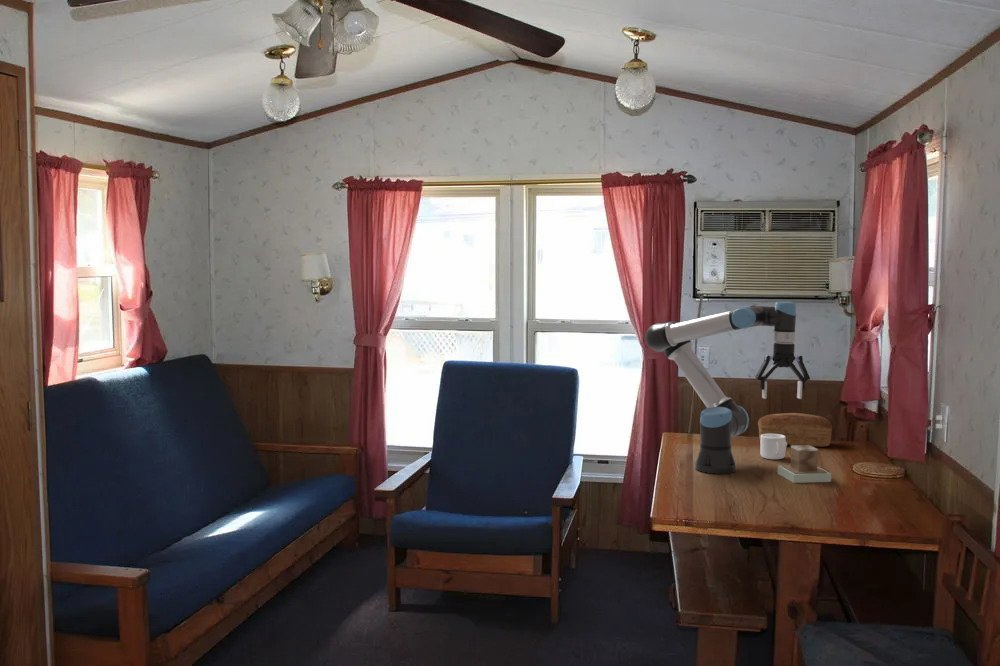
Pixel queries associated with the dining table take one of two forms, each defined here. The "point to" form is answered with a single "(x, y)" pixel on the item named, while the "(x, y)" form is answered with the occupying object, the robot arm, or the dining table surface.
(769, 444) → the mug
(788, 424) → the bread
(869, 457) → the dining table surface
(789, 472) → the base
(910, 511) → the dining table surface
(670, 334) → the robot arm
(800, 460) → the block
